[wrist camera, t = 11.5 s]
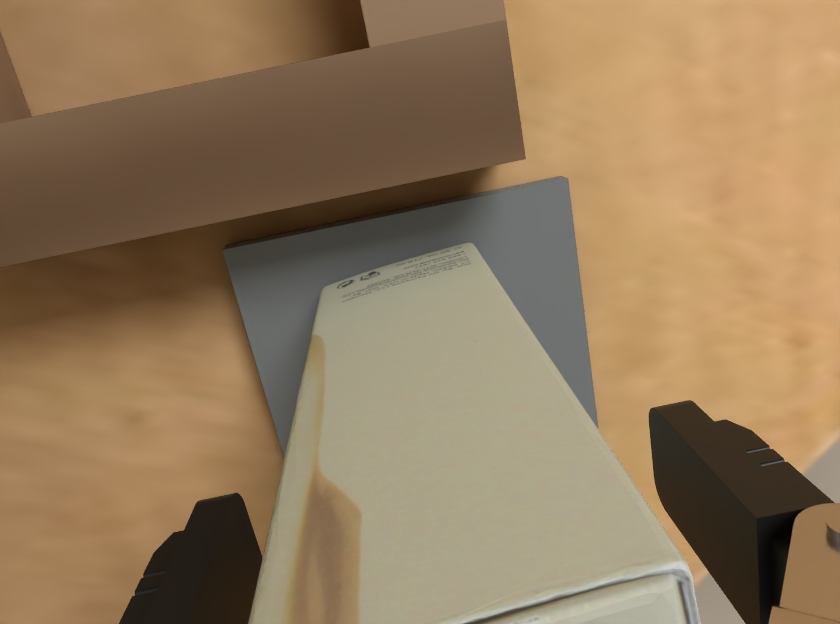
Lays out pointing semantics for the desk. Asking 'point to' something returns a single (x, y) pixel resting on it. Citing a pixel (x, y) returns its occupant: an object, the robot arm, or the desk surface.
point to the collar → (263, 134)
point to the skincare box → (453, 472)
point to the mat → (407, 238)
